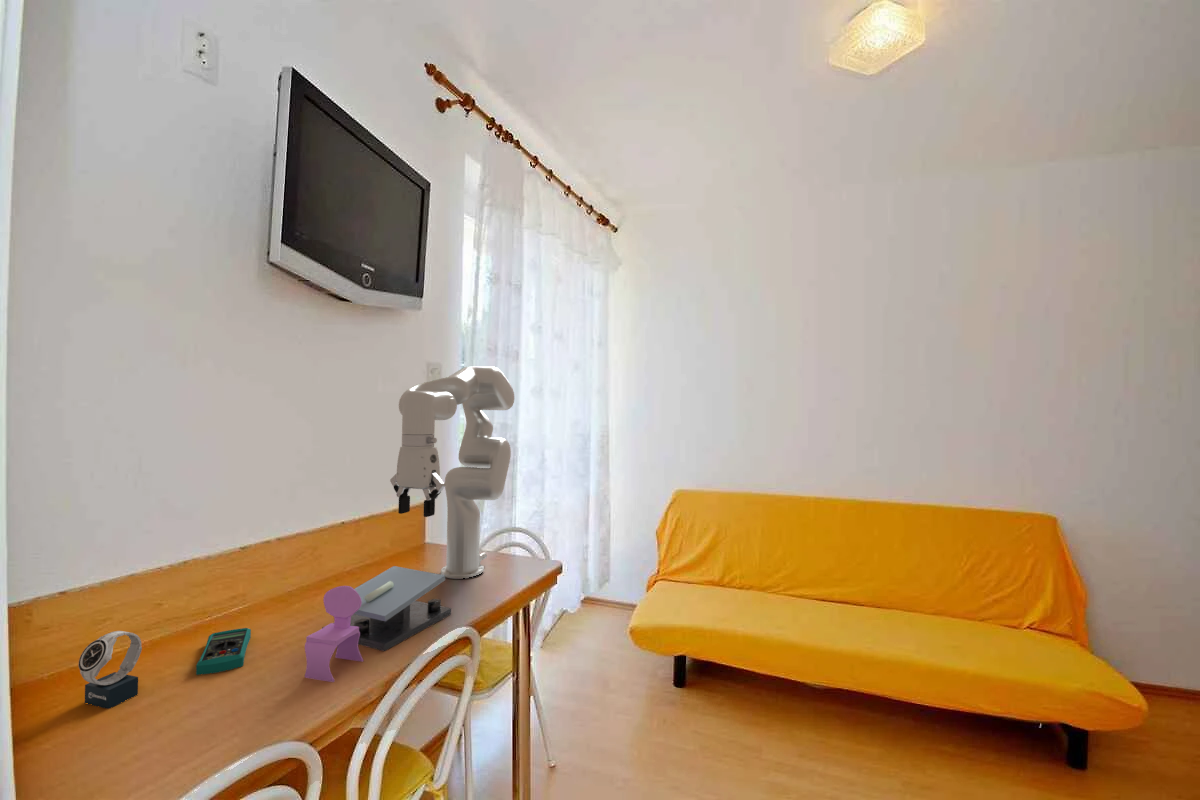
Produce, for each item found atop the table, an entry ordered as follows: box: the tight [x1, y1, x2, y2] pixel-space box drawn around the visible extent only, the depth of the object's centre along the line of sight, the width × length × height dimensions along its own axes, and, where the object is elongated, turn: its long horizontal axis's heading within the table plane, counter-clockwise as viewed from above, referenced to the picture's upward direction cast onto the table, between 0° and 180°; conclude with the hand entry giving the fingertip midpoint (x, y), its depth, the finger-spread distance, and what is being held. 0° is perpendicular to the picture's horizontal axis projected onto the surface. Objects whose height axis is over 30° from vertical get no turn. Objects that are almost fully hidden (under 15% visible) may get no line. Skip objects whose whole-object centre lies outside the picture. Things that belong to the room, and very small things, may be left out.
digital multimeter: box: [195, 627, 252, 676], centre depth 105 cm, size 7×15×3 cm, turn 28°
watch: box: [78, 630, 143, 710], centre depth 89 cm, size 6×8×11 cm
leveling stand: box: [321, 598, 452, 652], centre depth 121 cm, size 21×18×6 cm
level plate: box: [354, 565, 446, 621], centre depth 121 cm, size 19×16×3 cm
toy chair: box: [304, 585, 365, 683], centre depth 101 cm, size 8×9×15 cm
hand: (416, 513), depth 129 cm, fingers open, 7 cm apart
